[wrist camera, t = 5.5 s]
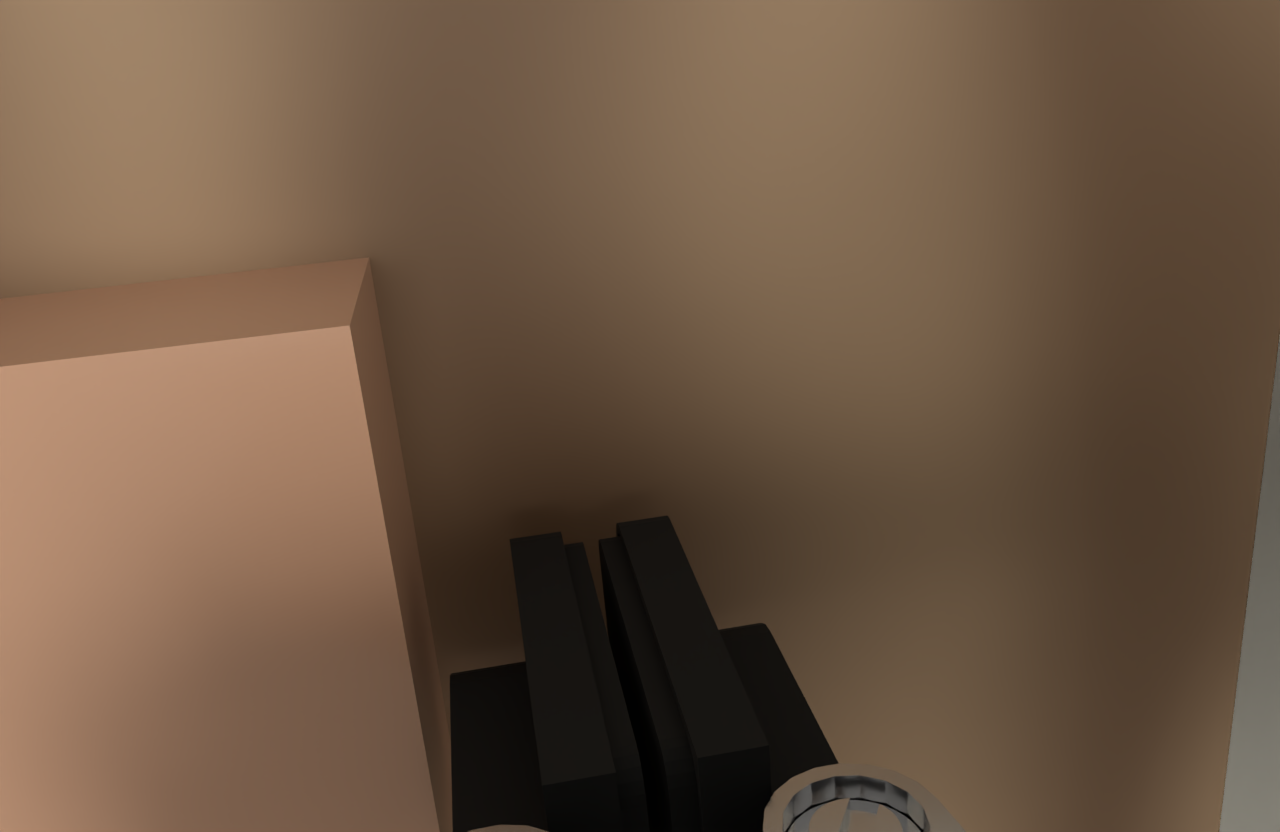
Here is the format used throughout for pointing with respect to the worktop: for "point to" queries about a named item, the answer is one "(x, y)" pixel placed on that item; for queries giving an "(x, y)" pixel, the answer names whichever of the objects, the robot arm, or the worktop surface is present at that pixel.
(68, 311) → the tile
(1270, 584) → the worktop surface
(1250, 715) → the worktop surface
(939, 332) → the deck
